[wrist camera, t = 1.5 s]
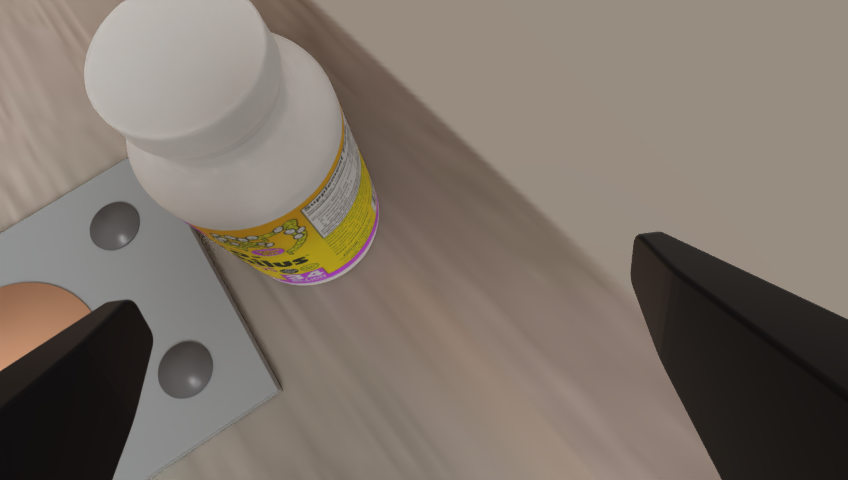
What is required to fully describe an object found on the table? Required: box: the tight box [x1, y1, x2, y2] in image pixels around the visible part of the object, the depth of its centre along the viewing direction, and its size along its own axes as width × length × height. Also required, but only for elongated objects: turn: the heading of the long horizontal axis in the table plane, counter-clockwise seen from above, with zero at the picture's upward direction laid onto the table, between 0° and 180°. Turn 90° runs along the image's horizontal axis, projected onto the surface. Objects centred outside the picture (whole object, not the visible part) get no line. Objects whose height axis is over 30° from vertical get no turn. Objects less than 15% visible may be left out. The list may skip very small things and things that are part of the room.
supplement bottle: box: [84, 0, 379, 285], centre depth 19 cm, size 7×7×13 cm
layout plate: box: [0, 157, 283, 480], centre depth 24 cm, size 16×14×1 cm
